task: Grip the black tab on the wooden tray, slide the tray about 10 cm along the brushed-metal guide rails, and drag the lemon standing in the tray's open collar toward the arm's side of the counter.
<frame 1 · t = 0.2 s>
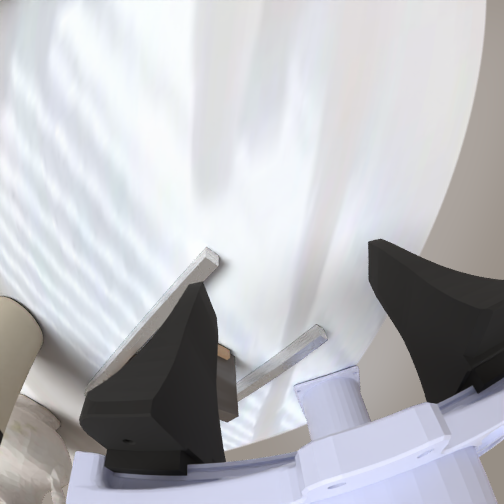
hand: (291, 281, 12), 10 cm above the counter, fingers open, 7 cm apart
wooden tray: (166, 408, 27), point 4 cm above the counter, slide at 0.0 cm
lane rails: (180, 372, 30), on the counter
travel mug: (17, 321, 25), on the counter
ceramic pitcher: (36, 411, 35), on the counter
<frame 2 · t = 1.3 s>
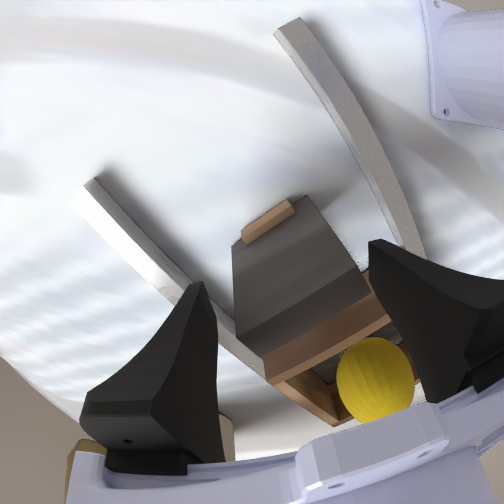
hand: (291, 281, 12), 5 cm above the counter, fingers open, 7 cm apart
lemon: (357, 339, 22), resting in wooden tray
wooden tray: (352, 347, 17), point 4 cm above the counter, slide at 0.0 cm
lane rails: (319, 288, 19), on the counter
travel mug: (195, 422, 27), on the counter
squeeze bottle: (98, 445, 31), on the counter
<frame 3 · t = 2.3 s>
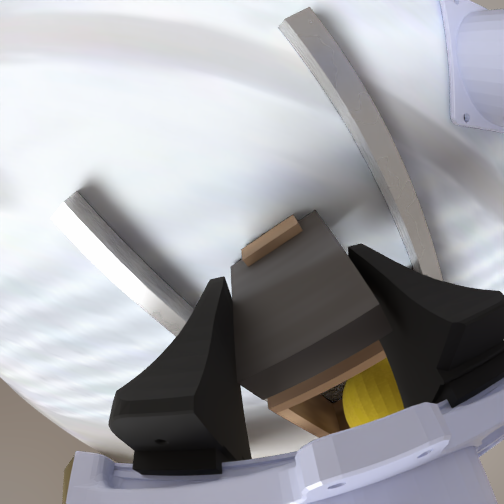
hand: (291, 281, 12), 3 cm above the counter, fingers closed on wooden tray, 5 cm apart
lemon: (364, 358, 21), resting in wooden tray
wooden tray: (361, 373, 15), point 4 cm above the counter, slide at 0.0 cm, touching gripper
lane rails: (327, 309, 17), on the counter
squeeze bottle: (95, 458, 29), on the counter
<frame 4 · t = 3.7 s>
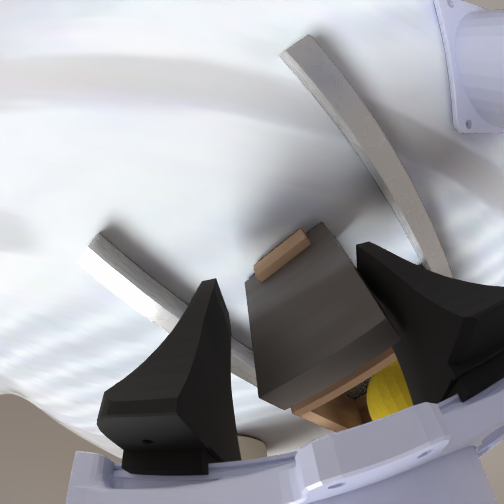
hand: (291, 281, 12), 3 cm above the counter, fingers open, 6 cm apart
lemon: (384, 358, 21), resting in wooden tray
wooden tray: (378, 372, 15), point 4 cm above the counter, slide at 0.7 cm, touching gripper, lemon
lane rails: (346, 318, 18), on the counter
travel mug: (227, 445, 26), on the counter
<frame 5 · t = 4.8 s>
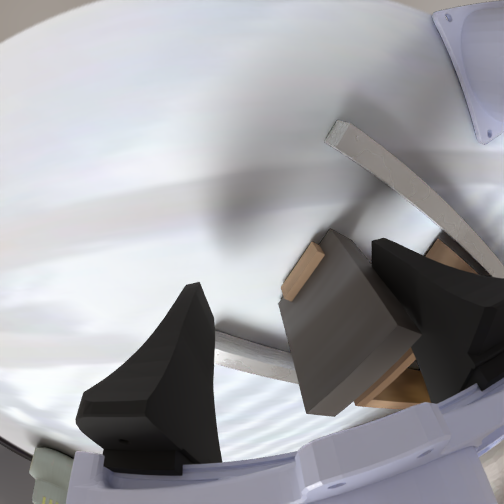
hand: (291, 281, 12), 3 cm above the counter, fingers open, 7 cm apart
wooden tray: (426, 348, 15), point 4 cm above the counter, slide at 5.5 cm, touching gripper, lemon
lane rails: (424, 320, 19), on the counter
ceramic pitcher: (467, 411, 33), on the counter
air freshener: (61, 455, 29), on the counter
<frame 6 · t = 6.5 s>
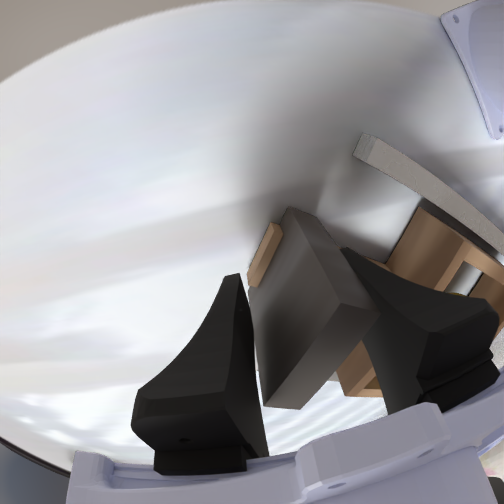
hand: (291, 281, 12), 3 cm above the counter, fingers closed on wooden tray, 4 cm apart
wooden tray: (418, 329, 14), point 4 cm above the counter, slide at 9.8 cm, touching gripper
lane rails: (451, 310, 19), on the counter
ceramic pitcher: (495, 390, 32), on the counter
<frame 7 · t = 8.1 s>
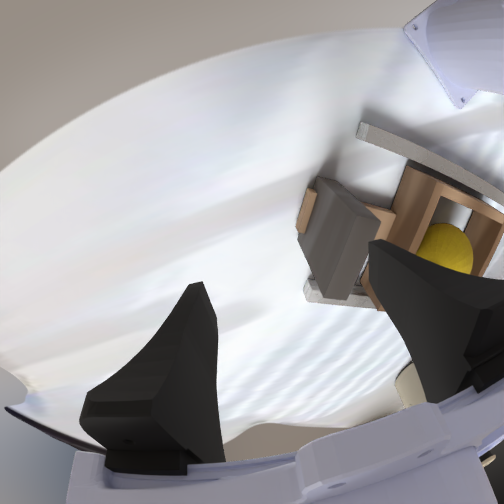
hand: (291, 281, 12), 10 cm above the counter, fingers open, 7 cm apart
lemon: (447, 248, 23), point 1 cm above the counter, touching wooden tray
wooden tray: (421, 251, 19), point 4 cm above the counter, slide at 10.0 cm, touching lemon
lane rails: (453, 245, 24), on the counter
travel mug: (418, 369, 34), on the counter
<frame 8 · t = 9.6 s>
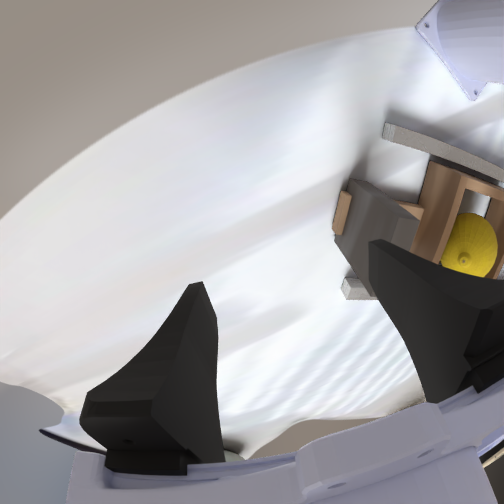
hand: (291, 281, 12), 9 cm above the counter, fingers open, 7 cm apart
lemon: (471, 235, 22), point 1 cm above the counter, touching wooden tray
wooden tray: (450, 242, 19), point 4 cm above the counter, slide at 10.0 cm, touching lemon
lane rails: (475, 231, 23), on the counter
travel mug: (449, 353, 33), on the counter
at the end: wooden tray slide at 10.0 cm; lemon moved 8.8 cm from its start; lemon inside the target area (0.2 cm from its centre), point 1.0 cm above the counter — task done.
